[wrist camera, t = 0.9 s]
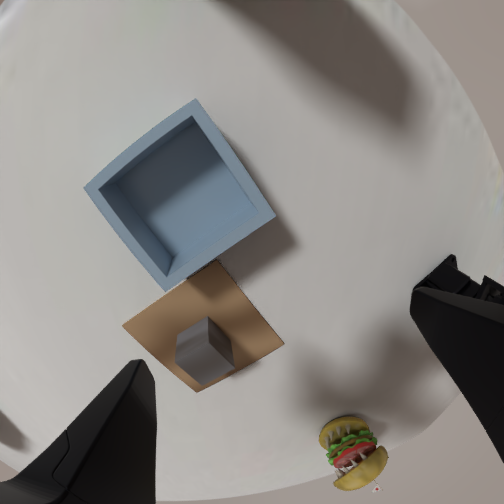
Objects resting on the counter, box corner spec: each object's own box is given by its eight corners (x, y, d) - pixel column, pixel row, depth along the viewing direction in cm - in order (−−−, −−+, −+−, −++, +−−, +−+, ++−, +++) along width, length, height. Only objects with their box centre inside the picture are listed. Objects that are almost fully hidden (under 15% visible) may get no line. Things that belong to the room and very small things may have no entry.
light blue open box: (262, 203, 20) (276, 216, 16) (172, 266, 20) (165, 291, 16) (198, 109, 17) (195, 98, 13) (106, 180, 17) (83, 187, 14)
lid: (282, 338, 25) (294, 370, 21) (196, 386, 25) (197, 419, 21) (216, 256, 21) (219, 280, 17) (124, 320, 22) (111, 352, 18)
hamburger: (339, 404, 29) (378, 481, 18) (374, 409, 31) (412, 472, 20) (303, 439, 31) (329, 510, 20) (339, 440, 33) (368, 502, 22)
